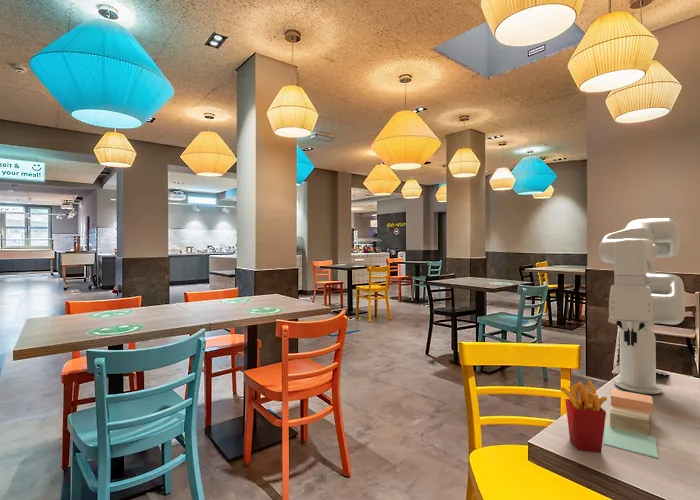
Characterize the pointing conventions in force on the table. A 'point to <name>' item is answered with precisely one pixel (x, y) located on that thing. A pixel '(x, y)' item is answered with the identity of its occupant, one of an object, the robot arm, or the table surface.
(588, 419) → the french fries
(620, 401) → the card
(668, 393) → the table surface
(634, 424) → the sheet
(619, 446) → the mat
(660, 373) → the smartphone
